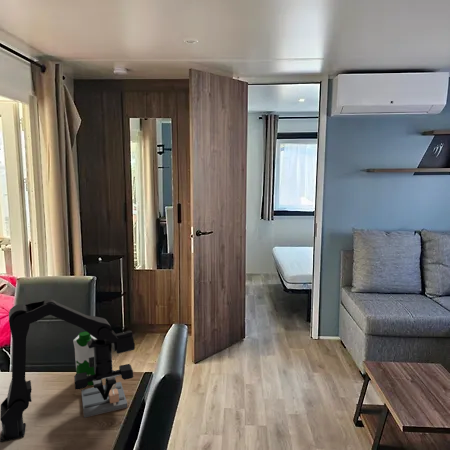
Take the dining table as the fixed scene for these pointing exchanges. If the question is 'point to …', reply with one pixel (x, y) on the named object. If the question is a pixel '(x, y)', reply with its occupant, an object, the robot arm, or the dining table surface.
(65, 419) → the dining table surface
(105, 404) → the console
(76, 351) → the milk carton
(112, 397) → the fader terracotta
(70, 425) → the dining table surface
